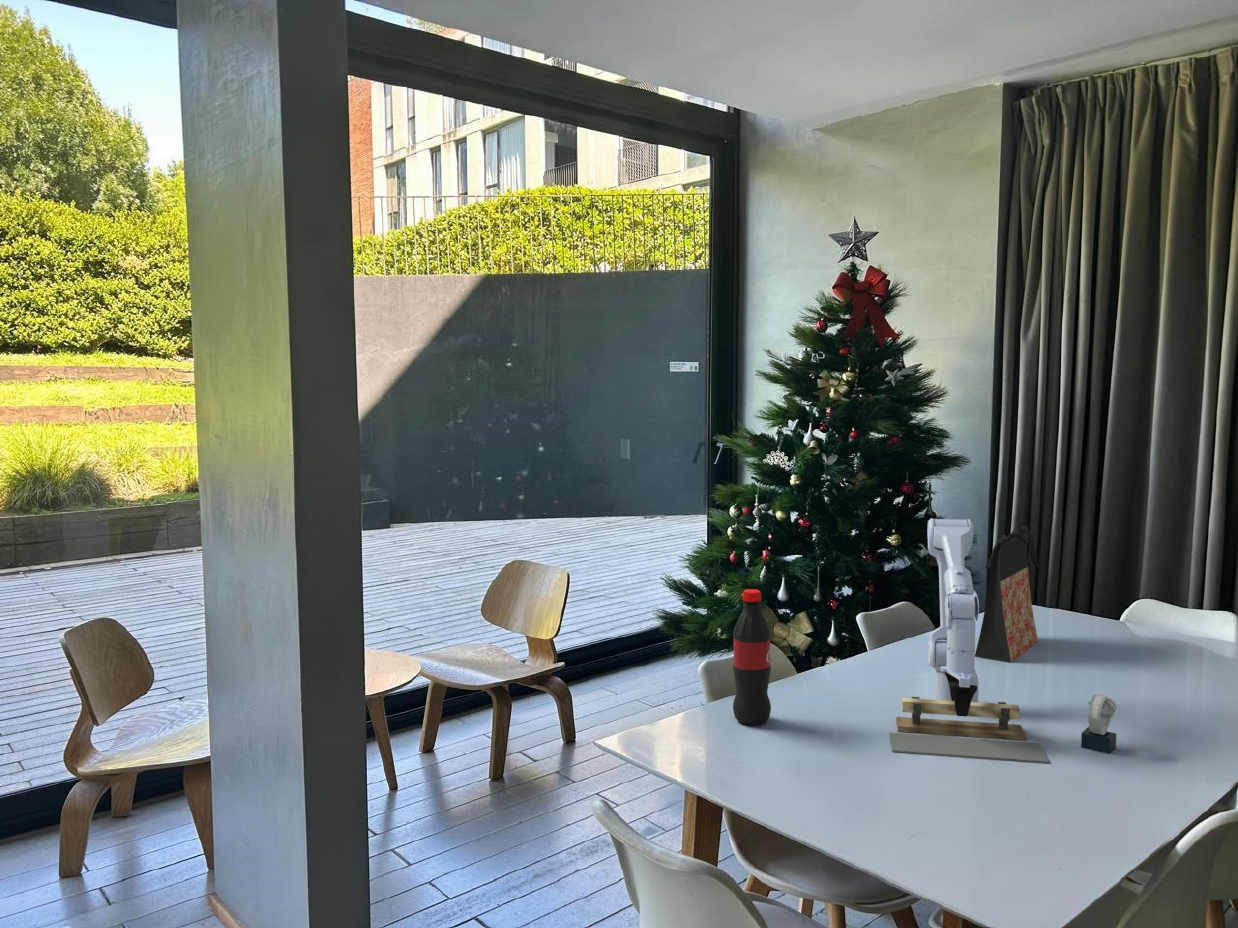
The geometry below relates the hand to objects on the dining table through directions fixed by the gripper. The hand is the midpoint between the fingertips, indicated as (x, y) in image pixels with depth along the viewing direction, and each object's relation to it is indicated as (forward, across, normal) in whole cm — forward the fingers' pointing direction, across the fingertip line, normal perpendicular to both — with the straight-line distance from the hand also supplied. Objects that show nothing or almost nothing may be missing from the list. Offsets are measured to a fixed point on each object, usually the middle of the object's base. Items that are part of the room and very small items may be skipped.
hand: (959, 709), depth 205 cm
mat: (+5, +10, 0) cm, 11 cm away
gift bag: (+5, -70, +23) cm, 74 cm away
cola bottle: (+5, +2, -45) cm, 45 cm away
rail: (+1, 0, 0) cm, 1 cm away
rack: (+5, 0, 0) cm, 5 cm away
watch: (+5, +4, +27) cm, 28 cm away
